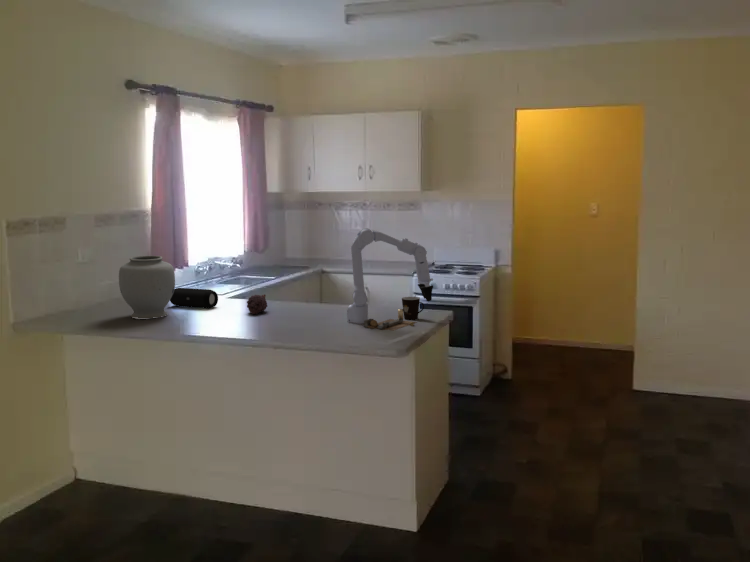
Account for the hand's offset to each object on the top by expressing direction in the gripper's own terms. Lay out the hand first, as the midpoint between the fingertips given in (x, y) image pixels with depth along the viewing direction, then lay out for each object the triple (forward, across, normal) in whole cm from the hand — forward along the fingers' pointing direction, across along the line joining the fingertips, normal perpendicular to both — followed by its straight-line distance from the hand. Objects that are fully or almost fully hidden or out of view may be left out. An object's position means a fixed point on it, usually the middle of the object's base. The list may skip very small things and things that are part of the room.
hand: (427, 299), depth 344 cm
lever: (+6, -10, +20) cm, 23 cm away
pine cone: (-3, +40, +82) cm, 91 cm away
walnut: (+5, -12, +28) cm, 31 cm away
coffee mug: (+10, +7, +8) cm, 14 cm away
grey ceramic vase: (-11, +42, +134) cm, 141 cm away
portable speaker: (-8, +63, +115) cm, 132 cm away
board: (+8, -9, +19) cm, 22 cm away
